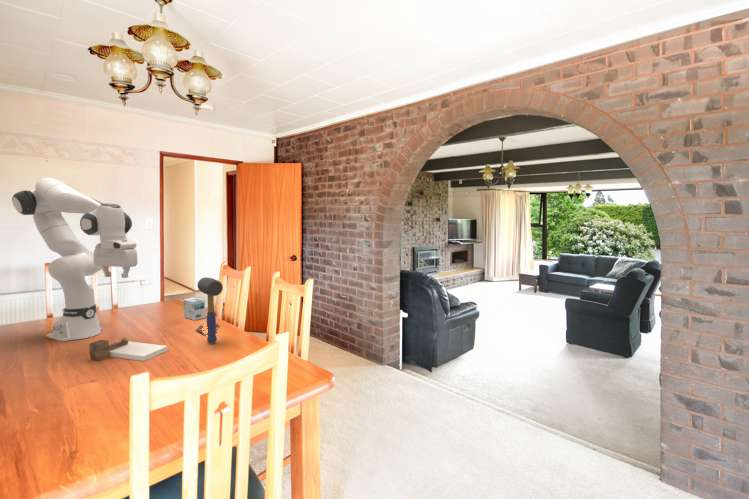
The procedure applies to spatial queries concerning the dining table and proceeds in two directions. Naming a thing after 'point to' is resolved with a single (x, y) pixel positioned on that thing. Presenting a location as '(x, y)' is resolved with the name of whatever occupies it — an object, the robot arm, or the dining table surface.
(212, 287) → the rubber mallet
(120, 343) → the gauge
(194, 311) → the light bulb box
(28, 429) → the dining table surface
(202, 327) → the wooden fragment
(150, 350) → the board
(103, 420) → the dining table surface
